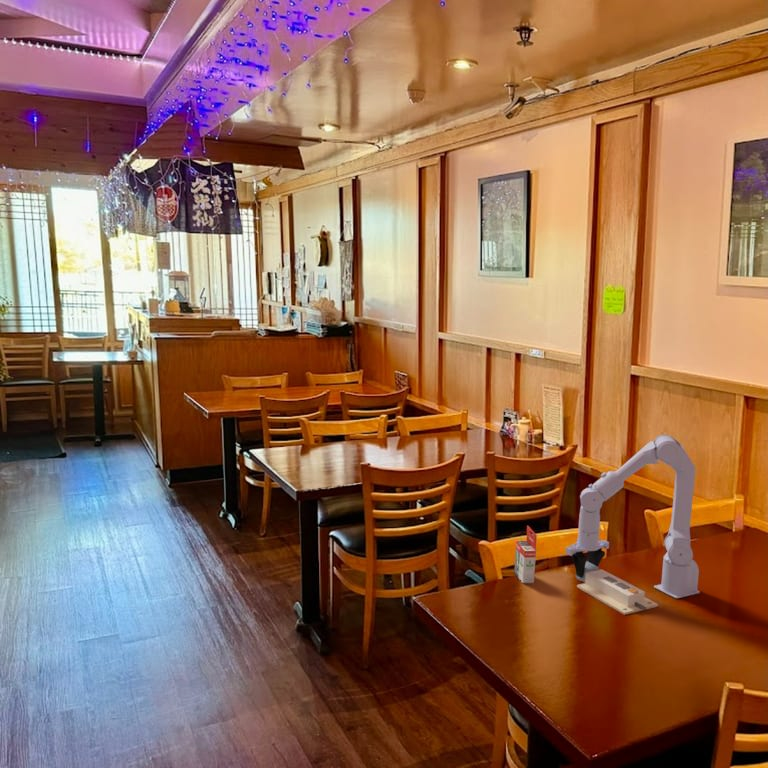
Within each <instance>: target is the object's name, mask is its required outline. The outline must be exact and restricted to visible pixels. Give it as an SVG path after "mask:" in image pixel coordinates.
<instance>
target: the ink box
mask: <svg viewBox="0 0 768 768" xmlns="http://www.w3.org/2000/svg"><path fill="white" fill-rule="evenodd" d="M536 554H537V534H536V533H535V531H534V530H533V529H532V528H531V527H530V526H529V525H526V540H516V541H515V556H514V557H515V559H514V571H513V572H514V574H515V575H516V577H517V578H518V579H519V581H520V580H521V581H520V582H521V583H522V584H534V582H535V570H536V557H537V556H536Z"/></svg>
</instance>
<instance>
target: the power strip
mask: <svg viewBox="0 0 768 768" xmlns="http://www.w3.org/2000/svg"><path fill="white" fill-rule="evenodd" d="M576 588H578V589H579V590H581V591H583V592H584V593H587V594H588V595H590V596H592V597H593V598H595V599H596V600H598V601H600V602H602V603H604V604H605V605H606V606H608V607H610V608H612V609H614V610H615V611H616V612H618V613H620V614H622V615H629V614H634V613H637V612H642V611H646V610H650V609H654V608H656V607H657V608H658V607H659V604H658V603H657V602H655V601H653V600H651V599H650V598H647V597H645V595H646V591H644V590H643V589H640V588H639V587H637V586H634V585H633V584H631V583H629V582H628V581H625V580H624V579H621V578H620V577H618V576H615V575H613V574H612V573H609V572H608V571H605V570H604V569H598V570H596V571H591V572H586V575H585V583H584V582H583V583H579V584H577V585H576Z"/></svg>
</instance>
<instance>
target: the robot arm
mask: <svg viewBox="0 0 768 768" xmlns="http://www.w3.org/2000/svg"><path fill="white" fill-rule="evenodd" d="M658 460H659V461H660V462H662V463H663V464H666V465H667V466H669V467H671V468H672V469H673V470H674V471H675V478H674V489H673V500H672V501H673V502H672V511H671V520H670V526H669V529H668V533H667V535H666V536H665V538H664V542H663V543H664V544H663V546H664V547H665V549H666V551H667V552H666V553H665V554H664V555H663V560H662V571H661V583H660V584H657V585H656V584H655V585H653V588H654V589H657V590H658V591H660V592H662V593H664V594H666V595H668V596H669V597H672V598H674V599H681V598H685V597H689V596H693V595H697V594H700V593H701V592H700V590H698V585H699V573H700V572H699V571H700V570H699V565H698V564H697V561H695V560H694V559H693V557H694V553H693V552H694V551H693V550H692V547H691V531H690V528H691V521H692V520H691V519H692V512H693V511H692V509H693V499H694V490H695V489H694V488H695V478H696V465H694V463H693V461H692V460H691V458H690V457H689V454H688V453H687V451H686V449H684V447H683V446H682V444H681V443H680V442H679V441H678V440H676V439H675V438H674V437H673V436H672V435H669V434H661V435H658V436H656V438H654V440H651V441H650V442H648V443H647V444H645V446H643V447H642V448H641V449H640V450H638V452H637V453H635V454H634V455H633V456H632V457H631V458H630V459H628V460H627V461H626V462H625V463H624V464H623V465H621V466H620V468H618V469H617V470H615V471H614V470H609V471H608V472H605V471H603V473H601V477H600V478H599V479H597V480H596V481H595V482H594V483H593V484H592V483H590V484H588V487H586V488H585V489H583V490H582V491H581V492H580V495H579V499H580V509H579V517H578V518H579V519H578V532H577V533H578V534H577V540H576V542H575V543H572V544H571V545H569V546H566V547H565V554H566V555H568V556H570V557H571V559H572V561H573V562H572V563H573V565H574V569H575V576H576V575H577V576H579V577H581V578H582V577H583V576H584V569H585V564H586V561H588V562H590V563H592V564H593V565H595V566H597V567H598V568H599V565H600V563H601V561H602V560H603V558H604V557H605V556H606V552H605V550H602V549H606V550H607V549H609V548H610V542H609V540H608V541H607V540H605V539H602V540H599V538H600V526H601V525H600V524H601V523H600V522H601V514H600V511H601V508H602V506H603V503H604V502H606V501H608V500H609V499H610V498H611V497H613V496H614V495H615V494H616V493H617V492H619V491H620V490H621V489H623V488H624V483H625V481H626V480H627V479H628V478H629V477H631V476H633V474H635V473H636V472H638V471H640V469H642V468H644V467H645V466H646V465H657V464H659V461H658ZM585 553H587V556H586V555H585Z"/></svg>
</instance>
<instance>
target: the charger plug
mask: <svg viewBox="0 0 768 768" xmlns="http://www.w3.org/2000/svg"><path fill="white" fill-rule="evenodd" d="M596 570H599V566H598V567H597V566H595V565H593V564H592V563H590V562H588V560H587V561H586V564H585V569H584V576H583V577H582V578H581V577H579V576H577V575H576V574H575V578H576V580H579V581H580V582H582V583H583V584H584V583H585V575H586V572H591V571H596Z"/></svg>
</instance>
